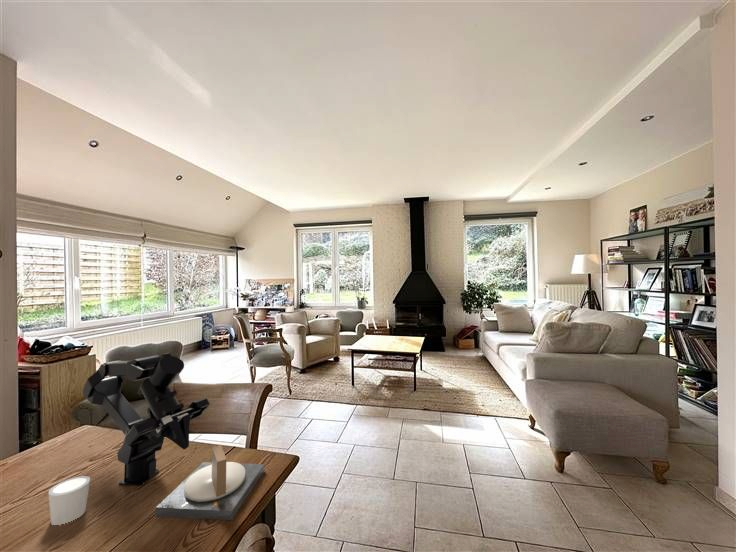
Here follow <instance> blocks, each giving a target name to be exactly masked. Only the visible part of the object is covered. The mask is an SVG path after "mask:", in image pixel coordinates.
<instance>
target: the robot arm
mask: <svg viewBox="0 0 736 552" xmlns="http://www.w3.org/2000/svg"><path fill="white" fill-rule="evenodd" d="M184 367H185V363H184V360H182V359H181V358H179V357H177V356H174V355H172V354H171V353H170V352H167V353H162V354H161V355H152V356H151V355H150V356H145V357H140V358H136V359H131V360H119V359H118V360H113V361H112V360H111V361H107V362H104V363H102V364H100V366H99V368H98V370H97V371H95V372H94V373H92V375H90V376H89V377H87V379H86V381H85V384H84V386H83V389H82V395H83V398H85V399H86V400H87V401H88V402H90V404H92V405H96V406H102V407H103V408H104V409H105V411H106V413H108V415H109V416H110V418H111V419H112V420H113V421H114V424H116V426H117V427H118V428H119V429H120V431H121V432H122V433H123V435H124V437H123V438H124V439H123V443H122V446H121V447H120V448H119V450H117V453H116V454H117V461H118V462H121V463H122V464H123V465H124V472H123V473H124V474H123V475H124V476H123V479H121V480H120V481H119V482H118V485H120V486H140V487H141V486H143V485H144V484H145V483H146V482H147V481H149V480H150V479H152V477H154V476H155V475H156V474H158V473H159V471H160V469H159V468H157V458H156V452H158V451H161V450H162V448H163V445H164V441H165V438H166V439H168V440H170V441H172V442H173V443H174V444H176V445H177V446H178V447H179V448H181V449H182V450H186V449H188V448H189V447H190V423H191V421H192V420H195V419H197V418H199V417H200V416H202V415H203V414H204V413H205V411H206V410H207V409H208V408H209V407H210V406H211V403H210V400H209V399H208V398H205V397H202V398H199V399H197V400H193V401H192V402H191V403H190V405H188V407H187V408H186V409H183V408H184V407H185V404H184V403H179V401H178V398H177V397H176V396H177V395H178V392H177V390H174V391H173V390H172V388H171V387H170V386H171V385H173V383H174V382H175V381H176V379H177V378H178V376H179V375H180V374H181V373H182V371H183V370H184ZM125 376H126V378H127V379H128V380H130V381H133V382H136V381H141V380H144V381H143V382H142V383H140V385H139V388H138V390H137V395H142V394H143V396H144V398H145V400H146V403H147V405H148V407H147V408H146V411H147V414H148V418H145V419H143V418H142V416H141V415H140V414H139V413H138V412H137V411H136V409H135V408H134V407H133V406H132V404H130V402H129V401H128V400H127V398H125V396H124V395H123V394H122V393H121V391H122V388H123V385H124V383H125Z"/></svg>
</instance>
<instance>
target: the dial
mask: <svg viewBox="0 0 736 552" xmlns="http://www.w3.org/2000/svg"><path fill="white" fill-rule="evenodd" d="M211 449H212V451H211V453H212V455H211V462H212V465H209V466H206V467H204V468H202V469H200V470H198V471H196V472H195V473H194V474H192V475H191V476H190V477H189V478H188V479H187V481H186V482H185V485H184V495H185V496H186V498H188V499H189V500H192V501H197V502H204V501H211V500H215V499H219V498H221V497H224V496H226V495H228V494H230V493H232V492H233V491H235V490H236V489H237V488H238V487H239V486H240V485H241V484H242V483H243V481H244V479H245V468H244V467H243V466H242V465H241V464H239V462H236V461H235V462H234V461H227V457H226V455H225V451H224V449H223V446H222V444H219V445H215V446H212V447H211Z"/></svg>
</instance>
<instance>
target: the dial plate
mask: <svg viewBox="0 0 736 552" xmlns="http://www.w3.org/2000/svg"><path fill="white" fill-rule="evenodd" d="M238 463H239V462H238ZM239 464H241V465H242V466H243V467H244V468H245V479H244V481H243V483H242V484H241V485H240V486H239V487H238V488H237V489H236V490H235V491H233V492H232V493H230V494H228V495H226V496H224V497H221V498H219V499H215V500H211V501H204V502H197V501H192V500H189V499H188V498H186V496H185V495H184V485H185V482H186V481H187V479H188V478H189V477H190V476H191V475H192V474H194V473H195V472H196V471H198V470H200V469H202V468H204V467H206V466H209V465H212V461H211V462H210V461H208V462H207V461H206V462H205V461H203V462H202V463H201V464H200V465H199V466H198V467H197V468H196V469H195V470H193V471H192V472H191V473H190V474H189V475H188V476H187V477H186V478H185V479H184V480H182V481H181V483H180V484H179V485H178V486H176V488H175V489H173V491H172V492H170V493H169V494H168V495H167V496H166V497H165V498H164V499H163V500H162V501H161V502H160V503H158V504H157V506H156V507H155V516H154V517H157V518H176V519H177V518H179V519H181V518H182V519H198V520H199V519H200V520H222V521H232V520H233V519H234V517H235V515H237V513H238V511H239V510H240V508H241V507H242V505H243V504H244V502H245V501H246V499H247V498H248V496H249V494H250V493H251V492H252V490H253V489H254V487H255V486H256V484H257V483H258V481H259V480H260V478H261V477H262V475H263V474H264V473H265V464H264V463H239Z"/></svg>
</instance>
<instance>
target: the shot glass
mask: <svg viewBox="0 0 736 552" xmlns="http://www.w3.org/2000/svg"><path fill="white" fill-rule="evenodd" d="M90 483H91V477H89V476H87V475H86V476H85V475H84V476H83V475H80V476H75V477H72V478H68V479H65V480H63V481H61V482H59V483H57V484H56V485H54V486H52V487H51V488H50V489H49V490H48V502H49V503H48V505H49V514H50V525H52V526H53V525H59V526H62V525H61V524H64V525H66V524H65V523H67V524H69V523H68V522H70V523H72V522H74V521H76V520H78V519H79V518H80V517H82V516H83V515H84V514H85V512H86V508H87V502H88V497H89V489H90ZM77 518H78V519H77ZM75 519H76V520H75ZM73 520H74V521H73ZM71 521H72V522H71Z"/></svg>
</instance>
